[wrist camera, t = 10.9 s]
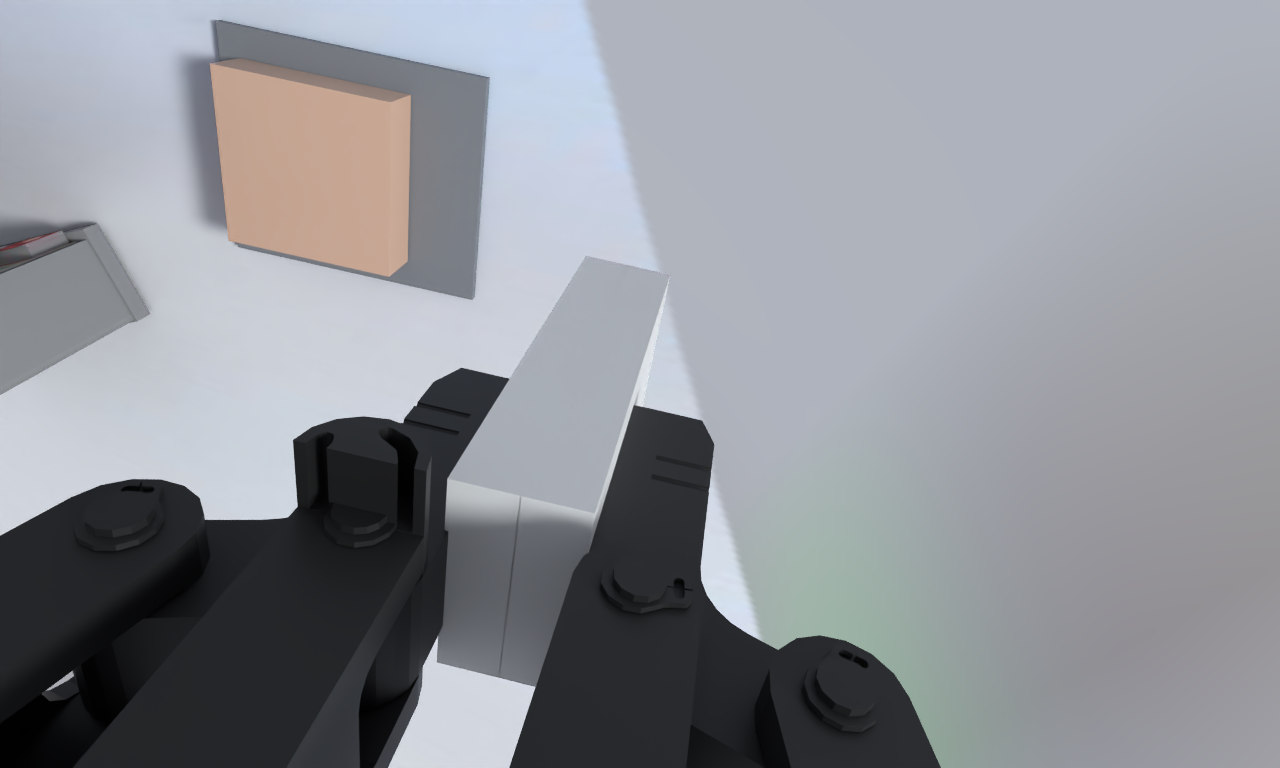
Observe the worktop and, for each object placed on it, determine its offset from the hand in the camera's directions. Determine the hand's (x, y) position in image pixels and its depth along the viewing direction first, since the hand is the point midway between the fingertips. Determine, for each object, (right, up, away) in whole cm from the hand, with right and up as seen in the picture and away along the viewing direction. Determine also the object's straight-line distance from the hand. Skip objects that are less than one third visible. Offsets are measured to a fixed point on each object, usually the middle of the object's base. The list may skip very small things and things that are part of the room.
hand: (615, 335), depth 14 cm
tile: (-12, +9, +25) cm, 30 cm away
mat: (-15, +11, +27) cm, 33 cm away
